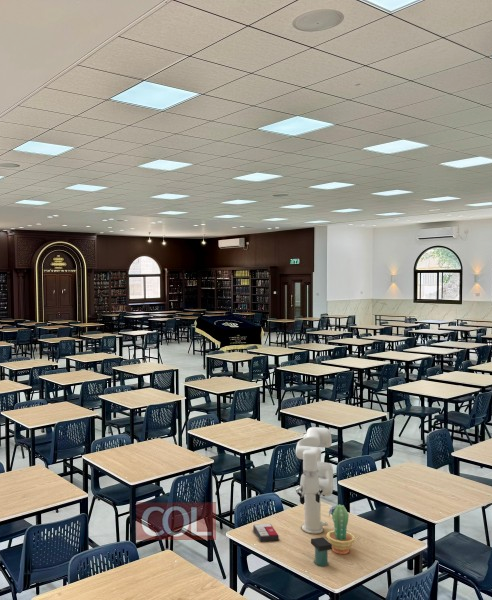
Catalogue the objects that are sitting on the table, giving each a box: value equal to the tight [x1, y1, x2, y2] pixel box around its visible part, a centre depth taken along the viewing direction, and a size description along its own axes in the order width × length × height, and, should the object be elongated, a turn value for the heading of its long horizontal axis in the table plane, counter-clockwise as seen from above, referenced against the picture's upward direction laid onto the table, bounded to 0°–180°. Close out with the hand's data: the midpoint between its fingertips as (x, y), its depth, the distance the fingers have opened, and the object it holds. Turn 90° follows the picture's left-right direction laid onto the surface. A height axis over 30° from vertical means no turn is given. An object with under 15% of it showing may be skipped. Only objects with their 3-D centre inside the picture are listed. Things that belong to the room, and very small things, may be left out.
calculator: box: [252, 523, 280, 543], centre depth 328 cm, size 11×4×15 cm
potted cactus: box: [326, 503, 356, 555], centre depth 309 cm, size 15×15×25 cm
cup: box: [314, 547, 329, 567], centre depth 295 cm, size 6×6×9 cm
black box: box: [310, 537, 333, 551], centre depth 295 cm, size 7×9×3 cm
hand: (309, 502), depth 310 cm, fingers open, 9 cm apart
